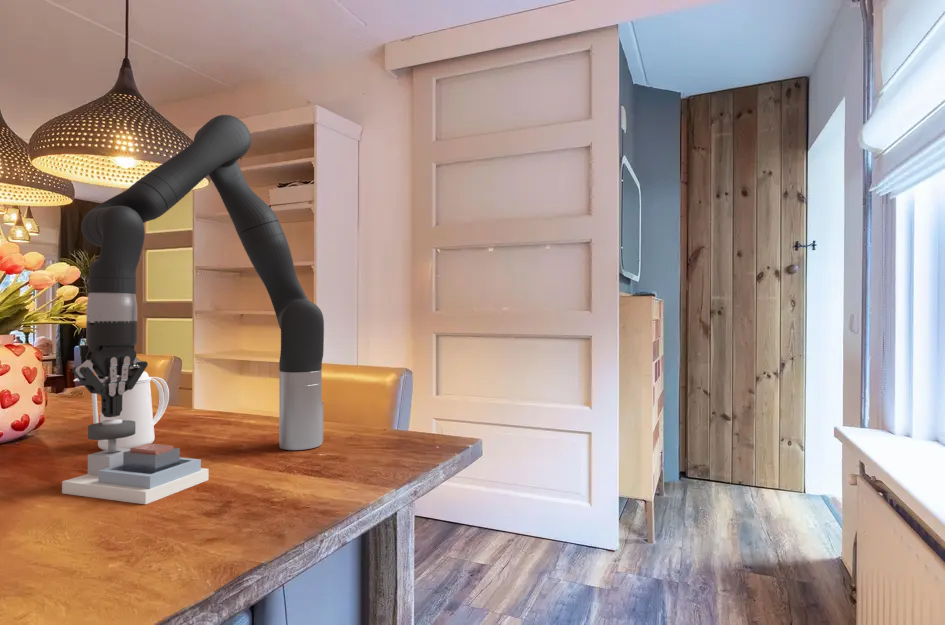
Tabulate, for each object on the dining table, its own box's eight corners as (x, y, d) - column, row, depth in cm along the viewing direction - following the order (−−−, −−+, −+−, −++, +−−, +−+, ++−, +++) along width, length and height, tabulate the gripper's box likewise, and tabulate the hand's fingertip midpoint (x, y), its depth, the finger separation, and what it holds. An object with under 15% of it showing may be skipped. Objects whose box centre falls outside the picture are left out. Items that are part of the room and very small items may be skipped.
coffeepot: (51, 459, 110) (52, 368, 110) (148, 433, 134) (148, 359, 134) (95, 462, 108) (96, 370, 108) (185, 435, 132) (186, 359, 132)
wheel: (115, 447, 99) (115, 416, 99) (144, 450, 97) (144, 418, 97) (77, 456, 92) (77, 423, 92) (108, 460, 90) (108, 425, 90)
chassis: (131, 471, 102) (132, 442, 102) (208, 479, 96) (208, 449, 96) (62, 493, 89) (62, 460, 89) (145, 504, 84) (145, 469, 84)
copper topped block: (149, 470, 95) (149, 442, 95) (179, 474, 93) (179, 444, 93) (123, 478, 91) (123, 448, 91) (155, 482, 89) (155, 452, 89)
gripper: (130, 318, 102) (129, 409, 102) (58, 319, 90) (57, 422, 89) (160, 319, 100) (160, 411, 100) (92, 319, 87) (91, 425, 87)
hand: (111, 416), depth 95 cm, fingers closed
